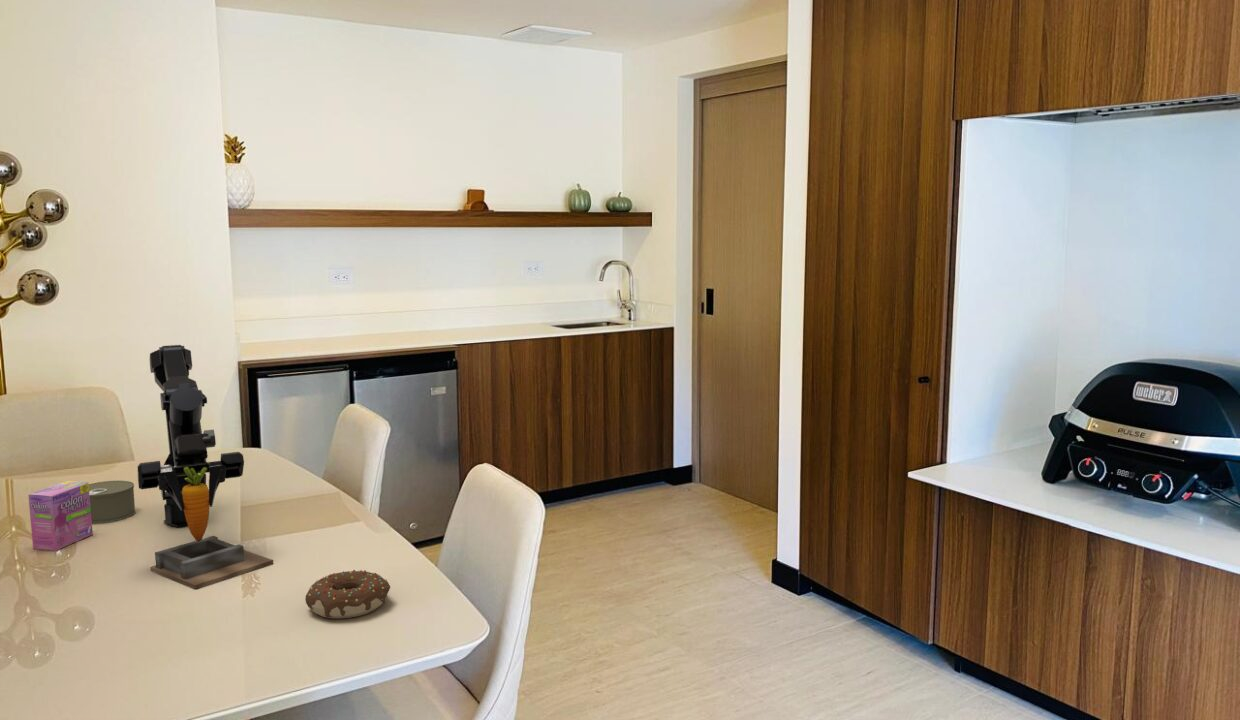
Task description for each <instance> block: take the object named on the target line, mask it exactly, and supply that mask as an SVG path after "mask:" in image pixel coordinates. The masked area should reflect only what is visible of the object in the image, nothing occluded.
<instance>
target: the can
mask: <svg viewBox="0 0 1240 720" xmlns="http://www.w3.org/2000/svg"><path fill="white" fill-rule="evenodd" d="M134 488H135V483H134V482H132V481H129V480H105V481H98V482H92V483H89V495H90V509H91V520H92V525H103V524H110V523H116V522H121V521H122V520H123V521H124V520H126V519H129V518H131V517H132V516H134V515H136V509H135V508H136V507H135V506H136V505H135V492H134Z"/></svg>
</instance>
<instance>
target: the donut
mask: <svg viewBox="0 0 1240 720" xmlns="http://www.w3.org/2000/svg"><path fill="white" fill-rule="evenodd" d="M390 589H391V585H390V583H389V582H388V580H387V579H386V578H383V576H381V575H380V574H379V573H376V572H370V571H366V570H362V569H360V570H355V569H353V570H352V571H350V570H349V571H344V570H343V571H342V572H336V573H331V574H328V575H325V576H322V578H320V579H317V580H316V581H314V583H313V584H311V585H310V587H309V588H308V591H307V593H306V595H305V598H304V599H305V604H306V605H307V607H308V608H309V610H311V611H312V612H313V613H315V614H316V615H318V616H320V617H323V618H327V619H338V620H339V619H350V618H355V617H359V616H363V615H366V614H367V615H368V614H369V613H372V612H374V611H375V610H378V608H379V607H381V606H382V605H384V604H385V603H386V599H387V596H388V594H389V591H390Z"/></svg>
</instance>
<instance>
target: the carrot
mask: <svg viewBox="0 0 1240 720" xmlns="http://www.w3.org/2000/svg"><path fill="white" fill-rule="evenodd" d="M206 470H207V468H206V467H203V468H202V470H201V472H200V473H198V474H196V472H195V470H194V469H193V468H191V469H189V468H188V467H185V468H184V472H185V473H186V475H187V476H188V478H185V480H186V481H188V482H189V483H190V484H189V485H186V486H184V487H183V488H182V498H183V504H184V513H185V517H186V521H187V524H188V525H187V526H188V530H189V532H190V534H191V535H192V537H193V539H194V541H198V542H200V540H201V539H204V538H203V537H204V535H205V533H206V531H207V528H208V523H209V516H210V505H209V486H208V485H207V483H206V484H204V483H200V482H201V479H202V477H203V475H204V474H206V473H205V472H206ZM191 472H192V473H191ZM192 474H193V475H192Z"/></svg>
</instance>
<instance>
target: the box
mask: <svg viewBox="0 0 1240 720" xmlns="http://www.w3.org/2000/svg"><path fill="white" fill-rule="evenodd" d="M89 484H90V483H89V482H87V481H86V482H85V481H76V480H75V481H74V480H66V481H62V482H60V483H57V484H55V485H52V486H49V487H46V488H44V489H40V490H37V491H35V492H32V493H29V494H28V495H27V496H28V507H29V517H30V528H31V530H30V531H31V541H32V549H33V550H39V551H51V552H57V551H59V550H60V549H63V548H65V547H68V546H70V545H71V544H75V543H76V542H78V541H82V540H83V539H85V538H87V537H90V536H92V535H93V534H94V533H93V524H92V520H91V509H90V495H89Z"/></svg>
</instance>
